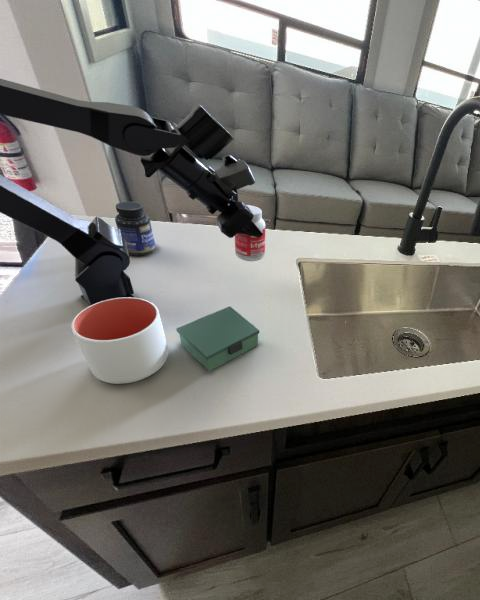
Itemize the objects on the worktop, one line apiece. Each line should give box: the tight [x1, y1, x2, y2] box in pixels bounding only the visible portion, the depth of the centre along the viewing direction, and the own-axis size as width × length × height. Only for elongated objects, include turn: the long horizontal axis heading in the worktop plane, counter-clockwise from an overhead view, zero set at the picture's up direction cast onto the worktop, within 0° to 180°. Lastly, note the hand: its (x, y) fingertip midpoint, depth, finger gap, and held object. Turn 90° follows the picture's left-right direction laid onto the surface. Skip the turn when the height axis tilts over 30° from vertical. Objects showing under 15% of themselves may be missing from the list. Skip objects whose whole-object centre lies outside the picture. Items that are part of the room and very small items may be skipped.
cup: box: [70, 297, 169, 385], centre depth 51 cm, size 10×10×10 cm
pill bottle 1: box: [114, 200, 157, 257], centre depth 74 cm, size 6×6×11 cm
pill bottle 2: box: [234, 204, 266, 262], centre depth 72 cm, size 6×6×11 cm
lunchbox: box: [175, 305, 260, 372], centre depth 60 cm, size 10×10×4 cm
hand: (256, 228), depth 72 cm, fingers closed on pill bottle 2, 6 cm apart
